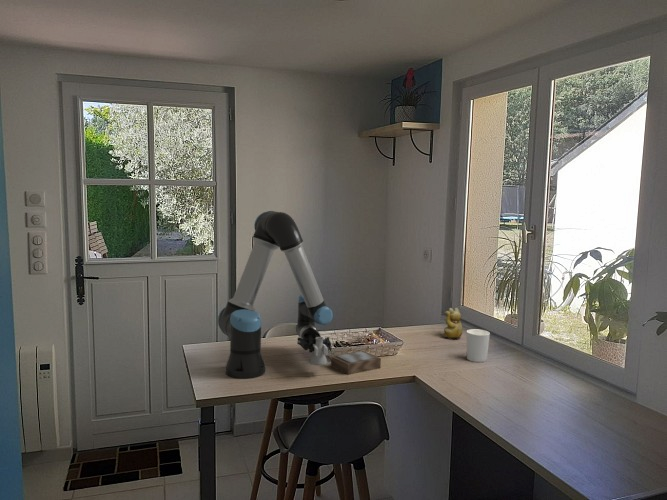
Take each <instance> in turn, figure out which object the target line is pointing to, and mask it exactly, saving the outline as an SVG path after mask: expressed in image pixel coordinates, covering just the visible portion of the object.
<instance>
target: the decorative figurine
mask: <svg viewBox="0 0 667 500" xmlns="http://www.w3.org/2000/svg"><path fill="white" fill-rule="evenodd" d="M444 314H445V315H446V318H445V323H446V325H447V327H445V328H444V329H443V337H445V338H446V337H448V338H447V339H449V338H450V339H449V340H451V339H453V340H458V339H457V338H459V339H460V338H461V337H462V335H463V326H462V323H461V319H462V314H461V313H460V310H459V308H458V307H455V308H454V309H453V308H452V307H449V308H448V310H446V311H444Z"/></svg>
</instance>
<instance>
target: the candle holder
mask: <svg viewBox="0 0 667 500" xmlns="http://www.w3.org/2000/svg"><path fill="white" fill-rule="evenodd" d="M490 336H491V333H490V331H487V330H485V329H480V328H479V329H476V328H474V329H472V328H471V329H467V330H466V359H467V360H468V361H471V362H475V363H484V362H487V360H488V354H489V353H488V352H489V344H490Z"/></svg>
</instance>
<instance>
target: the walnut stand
mask: <svg viewBox="0 0 667 500" xmlns="http://www.w3.org/2000/svg"><path fill="white" fill-rule="evenodd" d="M381 360H382V359H381V358H380V357H379V356H376V355H374V354H371V353H369V352H367V351H364V350H362V351H355V352H349V353H343V354H337V355H331V356H330V366H331V368H332V367H333V368H334V369H335V370H338V371H340V372H341V373H344V374H346V375H352V374H358V373H362V372H363V373H364V372H367V371H373V370H377V369H381V366H382V365H381V362H382V361H381Z"/></svg>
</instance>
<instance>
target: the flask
mask: <svg viewBox="0 0 667 500" xmlns="http://www.w3.org/2000/svg"><path fill="white" fill-rule="evenodd" d="M322 337H323V336H321V337H316V338H315V339H316V346H317V348H318V356H316V355H315V354H314V352H312V354H311V357H310V359H309V362H308V363H309V364H310V365H311V366H326V365H327V364H328V359H327V357H326V355H325V354H324V352H323V340H324V339H325V338H324V337H323V338H322Z"/></svg>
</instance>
